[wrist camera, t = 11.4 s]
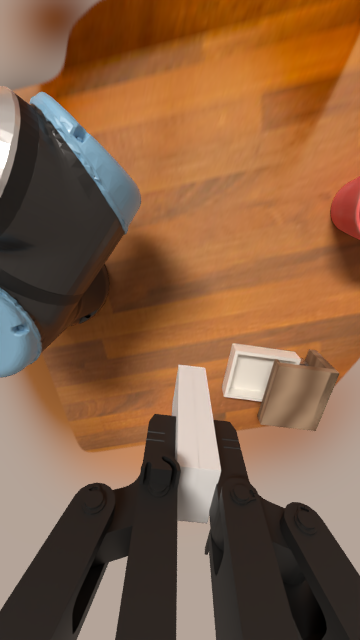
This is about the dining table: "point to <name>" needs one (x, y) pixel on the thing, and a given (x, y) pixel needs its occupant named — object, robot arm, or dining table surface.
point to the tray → (252, 370)
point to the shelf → (297, 393)
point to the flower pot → (347, 208)
